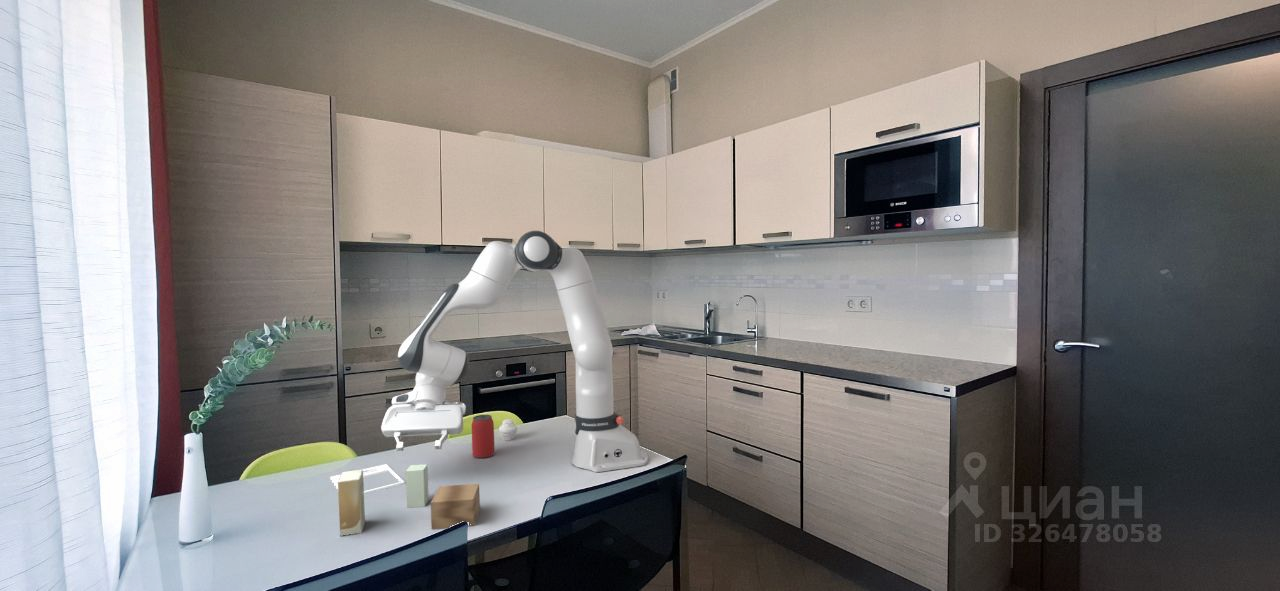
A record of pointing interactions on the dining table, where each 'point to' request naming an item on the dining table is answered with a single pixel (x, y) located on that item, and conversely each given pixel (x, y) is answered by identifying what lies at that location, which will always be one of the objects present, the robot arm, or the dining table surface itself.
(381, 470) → the photo frame
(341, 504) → the skincare box
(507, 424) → the muffin
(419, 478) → the sage pillar
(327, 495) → the dining table surface
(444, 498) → the walnut block
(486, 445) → the beer can
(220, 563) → the dining table surface
